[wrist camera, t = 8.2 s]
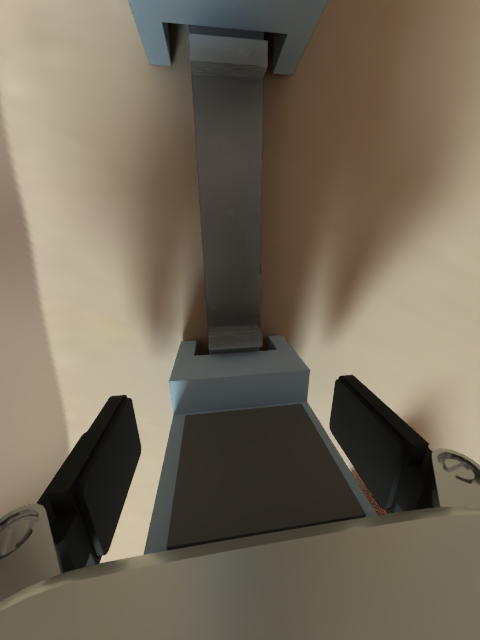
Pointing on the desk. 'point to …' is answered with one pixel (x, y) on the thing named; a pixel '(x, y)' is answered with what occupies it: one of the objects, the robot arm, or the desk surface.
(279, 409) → the notched grey block
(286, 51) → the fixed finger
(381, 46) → the desk surface
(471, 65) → the desk surface
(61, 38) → the desk surface
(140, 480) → the desk surface
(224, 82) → the rail
